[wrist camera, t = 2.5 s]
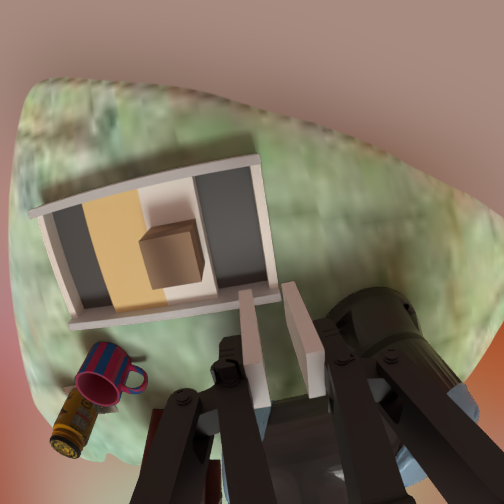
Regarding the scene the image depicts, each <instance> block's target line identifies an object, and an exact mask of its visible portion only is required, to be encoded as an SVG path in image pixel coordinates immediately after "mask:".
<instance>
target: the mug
mask: <svg viewBox="0 0 504 504" xmlns="http://www.w3.org/2000/svg"><path fill="white" fill-rule="evenodd" d="M130 371H135V372H138V373H140V374H141V375H143V376H144V381H143V383H142V385H141V386H139V387H137V388H129V387H127V386H125V383H126V381H127V378H128V375H129V372H130ZM75 385H76V387H77V389H78V391H79V392H80V393H81V395H82V396H84V397H85V398H86V399H87V400H89V401H90V402H92V403H94V404H97V405H100V406H106V407H108V406H114V405H116V404H117V403H118V402H119V400H120V398H121V395H122V392H126V393H129V394H139V393H141V392H143V391H144V390H145V389H146V387H147V385H148V376H147V373H146V372H145V371H144V370H143V369H142V368H140V367H138V366H135V365H132V364H131V361H130V358H129V356H128V355H127V353H126V352H125V351H124V350H123V349H121V348H120V347H118V346H117V345H115V344H112V343H108V342H99V343H96V344H95V345H93V347H92V348H91V350H90V352H89V353H88V355H87V357H86V359H85V360H84V362H83V364H82V366H81V368H80V369H79V371H78V373H77V375H76V377H75Z"/></svg>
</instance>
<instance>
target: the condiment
mask: <svg viewBox="0 0 504 504" xmlns="http://www.w3.org/2000/svg"><path fill="white" fill-rule="evenodd" d="M62 389H63V391H64V392H65V393H66V394H67V395H68V397H67V399H66V401H65V403H64V405H63V407H62V409H61V411H60V413H59V415H58V417H57V420H56V421H55V424H54V426H53V433H52V436H51V438H50V444H51V446H52V447H53V448H54V449H55V450H56V451H57V452H59V453H60V454H62V455H64V456H66V457H68V458H73V459H76V458H79V457H80V455H81V451H82V450H83V447H85V446H86V445H87V443H88V440H89V437H90V434H91V432H92V429H93V426H94V424H95V421H96V418H97V416H98V414H105V413H111V412H119V411H118V410H117V409H116V407H115V406H108V407H106V406H100V405H97V404H94V403H92V402H90V401H89V400H87V399H86V398H85V397H84V396H82V395H81V393H80V392H79V391H78V389H77V387H76V385H73V386H67V387H62ZM101 407H102V408H101Z"/></svg>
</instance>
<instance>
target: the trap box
mask: <svg viewBox="0 0 504 504" xmlns="http://www.w3.org/2000/svg"><path fill="white" fill-rule="evenodd" d="M260 164H261V159H260V154H258V153H253V154H247V155H241V156H235V157H229V158H224V159H218V160H213V161H208V162H203V163H198V164H193V165H188V166H183V167H179V168H174V169H169V170H165V171H161V172H156V173H152V174H148V175H144V176H140V177H136V178H132V179H128V180H124V181H120V182H116V183H113V184H109V185H105V186H102V187H98V188H95V189H91V190H88V191H85V192H81V193H78V194H75V195H71V196H68V197H65V198H62V199H59V200H56V201H52V202H49V203H46V204H44V205H41V206H39V207H37V208H34V209H32V210H30V211H28V213H29V217H30V219H33V218H36V217H37V220H38V223H39V227H40V230H41V234H42V237H43V240H44V244H45V247H46V250H47V253H48V256H49V259H50V262H51V265H52V268H53V271H54V274H55V276H56V279H57V282H58V284H59V287H60V290H61V292H62V295H63V297H64V300H65V302H66V305H67V307H68V310H69V312H70V314H71V317H72V319H71V321H70V322H69V323H68V326H69V328H70V330H71V331H73V330H83V329H93V328H102V327H112V326H120V325H129V324H137V323H145V322H153V321H160V320H168V319H175V318H182V317H189V316H195V315H202V314H209V313H215V312H221V311H227V310H233V309H239V293H238V291H242V290H248V289H252V295H253V300H254V306H257V305H262V304H268V303H274V302H279V301H281V293H280V290H279V287H278V280H277V273H276V266H275V259H274V252H273V245H272V239H271V232H270V225H269V219H268V212H267V206H266V199H265V193H264V186H263V180H262V174H261V167H260ZM190 219H196V223H197V228H198V232H199V237H200V241H201V246H202V250H203V255H204V259H205V267H204V272H203V277H202V282H198V283H192V284H186V285H180V286H174V287H167V288H161V289H155V290H152V287H151V284H150V281H149V277H148V274H147V271H146V267H145V264H144V260H143V257H142V253H141V250H140V246H139V243H138V241H139V240H140V239H141V238H142V237H143V236H144V234H145V233H146V232H147V231H148V230H149V229H150V228H151V227H155V226H160V225H165V224H170V223H175V222H180V221H185V220H190Z"/></svg>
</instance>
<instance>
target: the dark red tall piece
mask: <svg viewBox="0 0 504 504" xmlns="http://www.w3.org/2000/svg"><path fill="white" fill-rule="evenodd" d="M163 412H164V410H162V409H153V412H152V417H151V421H150V426H149V430H148V435H147V440H146V445H145V449H144V454H143V459H142V464H141V470H142V468H143V465H144V462H145V459H146V457H147V454H148V451H149V449H150V446H151V443H152V441H153V438H154V435H155V433H156V430H157V428H158V425H159V422H160V420H161V417H162V415H163ZM141 470H140V473H141ZM139 476H140V475H139ZM221 490H222V488H221V462H220V460H210V459H209V463H208V468H207V472H206V477H205V482H204V486H203V491H202V496H201V500H200V504H222V492H221Z"/></svg>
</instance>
